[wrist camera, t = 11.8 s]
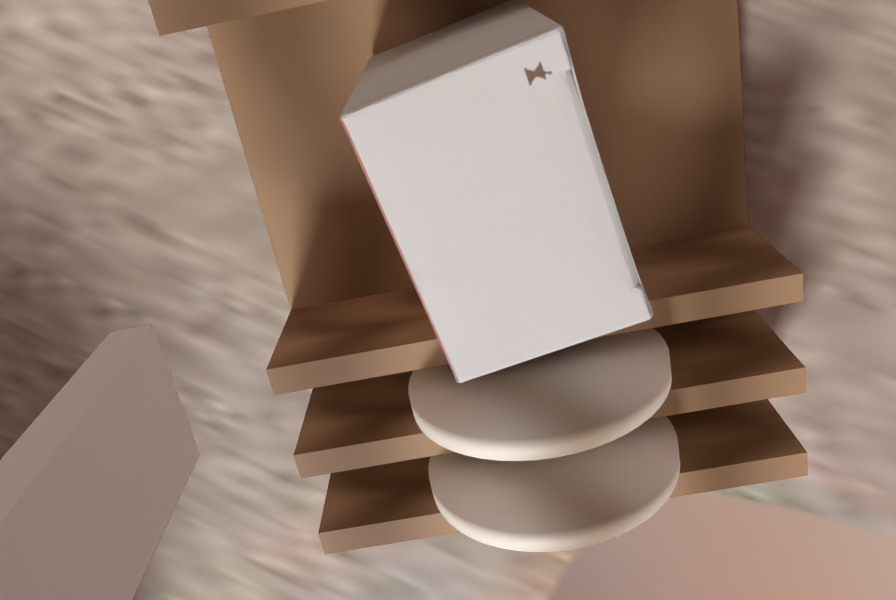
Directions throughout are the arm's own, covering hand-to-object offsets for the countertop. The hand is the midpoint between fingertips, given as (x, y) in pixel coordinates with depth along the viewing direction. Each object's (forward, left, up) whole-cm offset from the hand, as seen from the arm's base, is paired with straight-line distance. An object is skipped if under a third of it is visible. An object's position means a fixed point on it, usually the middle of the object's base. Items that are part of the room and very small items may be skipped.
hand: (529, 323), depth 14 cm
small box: (0, 0, -17) cm, 17 cm away
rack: (0, -3, -18) cm, 18 cm away
